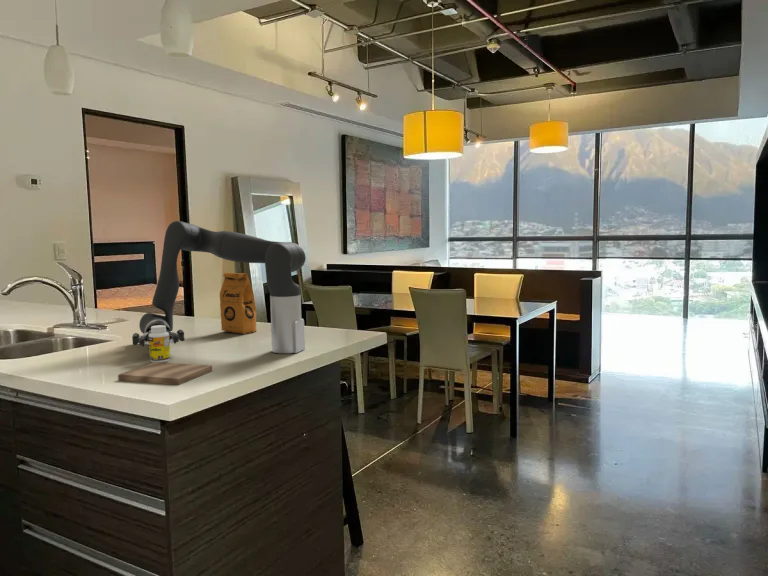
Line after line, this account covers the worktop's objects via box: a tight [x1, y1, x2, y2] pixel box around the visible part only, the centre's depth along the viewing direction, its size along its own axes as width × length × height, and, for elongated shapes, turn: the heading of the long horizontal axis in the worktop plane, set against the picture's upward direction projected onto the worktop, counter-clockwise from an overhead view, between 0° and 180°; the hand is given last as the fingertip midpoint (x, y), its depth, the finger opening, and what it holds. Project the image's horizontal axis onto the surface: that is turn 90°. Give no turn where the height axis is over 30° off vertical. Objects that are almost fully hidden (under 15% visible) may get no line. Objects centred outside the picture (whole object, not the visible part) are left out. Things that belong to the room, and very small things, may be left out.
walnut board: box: [117, 362, 213, 386], centre depth 150 cm, size 18×14×2 cm
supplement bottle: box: [148, 325, 171, 363], centre depth 167 cm, size 6×6×10 cm
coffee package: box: [219, 272, 257, 335], centre depth 213 cm, size 10×12×22 cm
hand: (159, 341), depth 166 cm, fingers open, 8 cm apart
